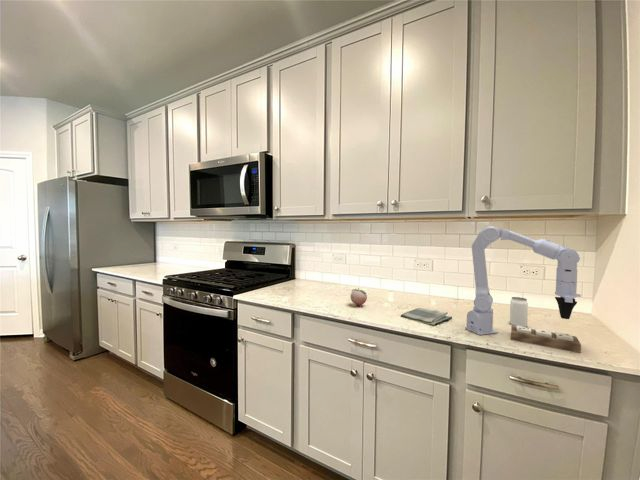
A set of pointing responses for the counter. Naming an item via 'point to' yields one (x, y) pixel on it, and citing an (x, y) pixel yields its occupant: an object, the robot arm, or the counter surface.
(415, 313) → the dish towel
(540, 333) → the one dot tile
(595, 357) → the counter surface
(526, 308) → the can
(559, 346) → the brown wooden tray
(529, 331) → the three dot tile
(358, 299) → the decorative fruit
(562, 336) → the two dot tile
